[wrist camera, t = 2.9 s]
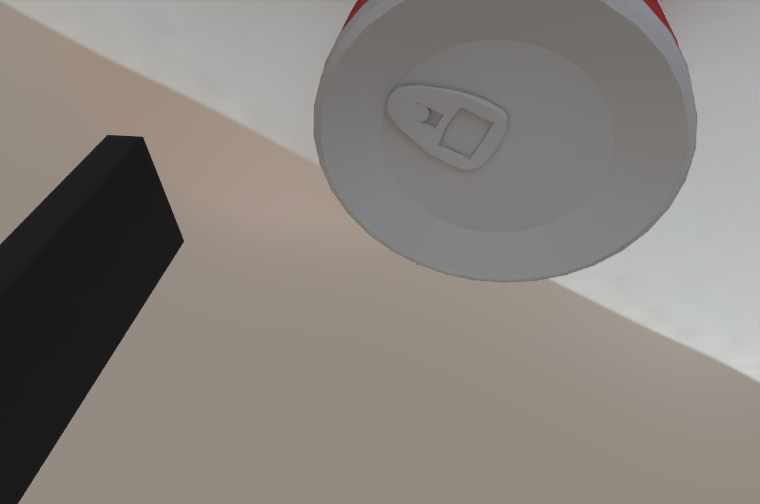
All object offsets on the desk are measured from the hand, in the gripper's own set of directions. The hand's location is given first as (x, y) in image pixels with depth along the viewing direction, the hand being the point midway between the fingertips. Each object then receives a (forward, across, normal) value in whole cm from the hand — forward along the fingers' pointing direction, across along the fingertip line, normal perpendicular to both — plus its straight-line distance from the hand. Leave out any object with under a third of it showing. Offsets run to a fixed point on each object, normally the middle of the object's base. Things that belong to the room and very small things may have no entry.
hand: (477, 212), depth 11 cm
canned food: (+13, 0, 0) cm, 13 cm away
